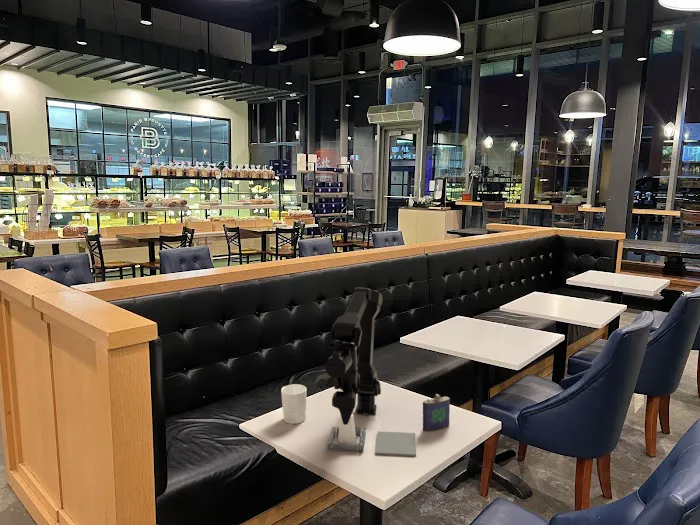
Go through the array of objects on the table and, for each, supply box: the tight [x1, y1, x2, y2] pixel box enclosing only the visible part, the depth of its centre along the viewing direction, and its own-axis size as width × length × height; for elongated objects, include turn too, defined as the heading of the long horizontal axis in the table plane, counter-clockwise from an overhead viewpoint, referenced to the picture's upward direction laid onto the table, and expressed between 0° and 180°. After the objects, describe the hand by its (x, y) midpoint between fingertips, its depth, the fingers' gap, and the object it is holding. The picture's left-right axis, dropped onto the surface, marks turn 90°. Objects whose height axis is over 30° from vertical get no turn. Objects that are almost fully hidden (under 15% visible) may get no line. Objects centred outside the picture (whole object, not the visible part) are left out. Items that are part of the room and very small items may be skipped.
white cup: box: [280, 383, 308, 425], centre depth 164 cm, size 8×8×10 cm
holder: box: [327, 426, 367, 453], centre depth 150 cm, size 10×10×2 cm
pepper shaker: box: [337, 413, 357, 443], centre depth 150 cm, size 5×5×11 cm
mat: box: [375, 430, 417, 457], centre depth 149 cm, size 12×11×1 cm
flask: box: [422, 393, 451, 433], centre depth 158 cm, size 9×3×11 cm, turn 114°
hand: (347, 416), depth 149 cm, fingers open, 9 cm apart
